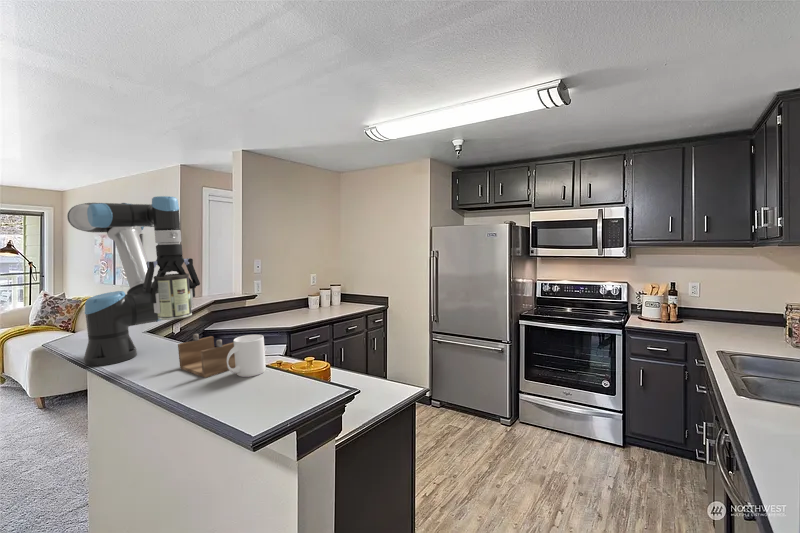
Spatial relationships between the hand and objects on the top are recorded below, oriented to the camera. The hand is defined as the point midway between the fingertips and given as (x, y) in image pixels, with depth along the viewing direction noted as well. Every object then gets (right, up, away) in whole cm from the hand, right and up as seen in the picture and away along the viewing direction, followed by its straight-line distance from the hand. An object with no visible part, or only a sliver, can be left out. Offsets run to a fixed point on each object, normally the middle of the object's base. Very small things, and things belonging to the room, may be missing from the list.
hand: (174, 309), depth 137 cm
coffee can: (0, -3, 0) cm, 3 cm away
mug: (+29, -18, -14) cm, 37 cm away
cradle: (+15, -18, -7) cm, 24 cm away
